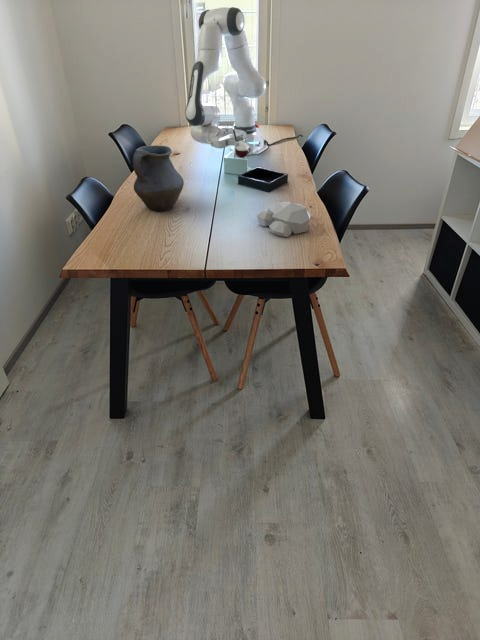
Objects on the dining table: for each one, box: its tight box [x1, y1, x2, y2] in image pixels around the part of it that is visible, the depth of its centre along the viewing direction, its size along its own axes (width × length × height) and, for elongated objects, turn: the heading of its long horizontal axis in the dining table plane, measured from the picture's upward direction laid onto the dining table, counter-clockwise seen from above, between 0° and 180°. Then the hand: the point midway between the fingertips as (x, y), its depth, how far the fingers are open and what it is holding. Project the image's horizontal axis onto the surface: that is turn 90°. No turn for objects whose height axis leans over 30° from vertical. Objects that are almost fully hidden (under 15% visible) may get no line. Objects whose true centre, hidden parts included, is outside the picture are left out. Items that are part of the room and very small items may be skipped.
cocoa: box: [233, 130, 251, 159], centre depth 202 cm, size 10×6×12 cm, turn 92°
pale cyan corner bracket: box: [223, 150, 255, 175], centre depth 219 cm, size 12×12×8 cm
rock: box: [256, 200, 311, 238], centre depth 165 cm, size 18×20×10 cm
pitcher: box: [132, 145, 185, 212], centre depth 176 cm, size 21×22×25 cm
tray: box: [237, 166, 289, 193], centre depth 205 cm, size 16×18×4 cm
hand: (242, 141), depth 202 cm, fingers closed on cocoa, 5 cm apart
